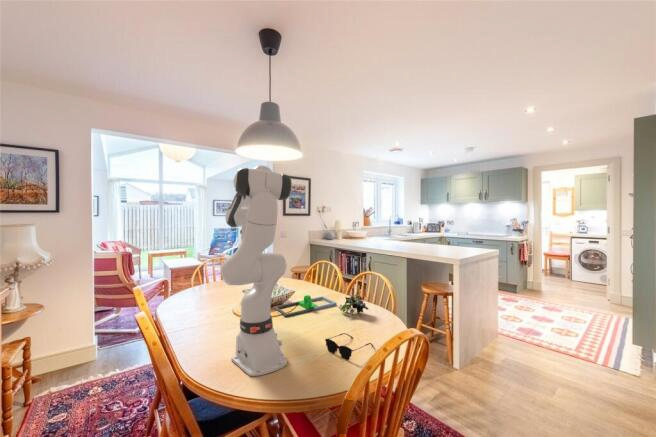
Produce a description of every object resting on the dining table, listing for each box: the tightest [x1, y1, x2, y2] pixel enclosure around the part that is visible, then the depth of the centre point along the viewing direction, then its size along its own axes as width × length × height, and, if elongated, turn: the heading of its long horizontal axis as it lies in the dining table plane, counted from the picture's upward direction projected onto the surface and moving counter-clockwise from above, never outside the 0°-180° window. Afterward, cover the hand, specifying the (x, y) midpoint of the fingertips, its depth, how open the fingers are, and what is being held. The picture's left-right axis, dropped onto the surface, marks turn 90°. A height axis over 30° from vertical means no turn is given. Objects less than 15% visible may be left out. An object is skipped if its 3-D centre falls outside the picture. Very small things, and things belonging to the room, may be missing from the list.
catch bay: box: [301, 295, 337, 311], centre depth 165 cm, size 15×15×2 cm
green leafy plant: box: [338, 294, 369, 317], centre depth 148 cm, size 13×12×14 cm
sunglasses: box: [324, 332, 374, 361], centre depth 112 cm, size 14×16×5 cm
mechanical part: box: [298, 294, 319, 310], centre depth 161 cm, size 12×6×8 cm, turn 33°
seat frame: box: [273, 300, 316, 318], centre depth 156 cm, size 16×18×1 cm
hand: (250, 256), depth 150 cm, fingers closed
